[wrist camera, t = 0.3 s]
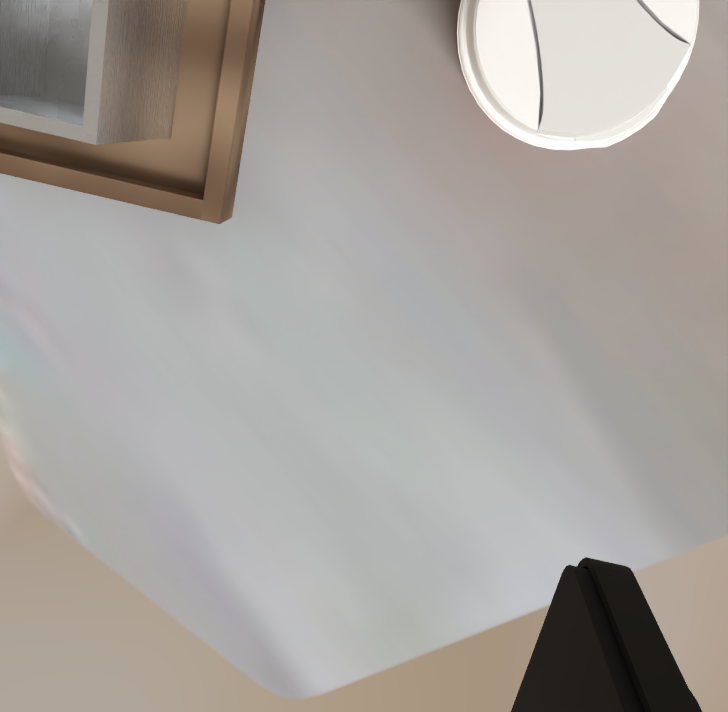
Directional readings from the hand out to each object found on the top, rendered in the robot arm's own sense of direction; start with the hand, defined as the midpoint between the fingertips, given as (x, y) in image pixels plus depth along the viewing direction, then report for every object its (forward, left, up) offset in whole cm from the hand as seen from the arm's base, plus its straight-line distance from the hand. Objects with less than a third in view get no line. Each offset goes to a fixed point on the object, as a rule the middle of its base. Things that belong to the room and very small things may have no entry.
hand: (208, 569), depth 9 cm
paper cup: (-10, +6, -31) cm, 33 cm away
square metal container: (-6, -14, -29) cm, 33 cm away
